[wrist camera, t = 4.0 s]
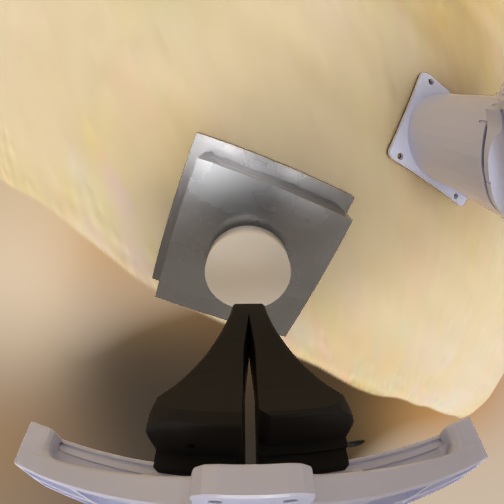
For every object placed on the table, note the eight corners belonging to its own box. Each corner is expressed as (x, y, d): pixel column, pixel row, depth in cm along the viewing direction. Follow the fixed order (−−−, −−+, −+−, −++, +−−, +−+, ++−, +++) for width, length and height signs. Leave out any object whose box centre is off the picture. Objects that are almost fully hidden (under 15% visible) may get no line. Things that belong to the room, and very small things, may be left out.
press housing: (351, 195, 21) (372, 212, 17) (285, 316, 25) (290, 348, 22) (198, 132, 18) (186, 135, 15) (154, 274, 23) (140, 302, 20)
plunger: (292, 221, 21) (305, 252, 16) (265, 277, 23) (270, 318, 18) (227, 197, 20) (221, 221, 15) (204, 257, 22) (194, 294, 17)
